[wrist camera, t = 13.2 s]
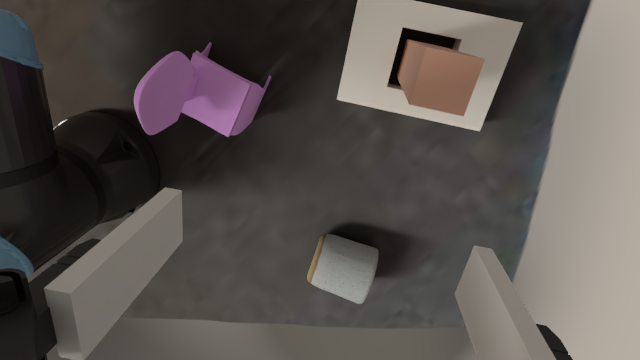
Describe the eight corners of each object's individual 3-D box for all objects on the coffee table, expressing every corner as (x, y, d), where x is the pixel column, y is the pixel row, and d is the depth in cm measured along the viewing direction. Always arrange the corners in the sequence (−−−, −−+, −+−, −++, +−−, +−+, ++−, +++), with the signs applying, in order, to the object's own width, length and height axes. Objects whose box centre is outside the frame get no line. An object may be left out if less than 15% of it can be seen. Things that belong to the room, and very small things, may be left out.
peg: (396, 76, 40) (409, 104, 26) (406, 38, 38) (426, 47, 24) (431, 83, 40) (463, 116, 25) (442, 46, 38) (484, 59, 24)
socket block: (339, 94, 42) (336, 99, 39) (360, -8, 37) (359, -11, 35) (472, 124, 41) (479, 131, 38) (512, 23, 36) (523, 22, 34)
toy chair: (252, 129, 45) (200, 174, 32) (190, 96, 45) (110, 127, 31) (279, 70, 42) (233, 92, 28) (212, 33, 41) (132, 37, 28)
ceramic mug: (323, 220, 49) (314, 254, 42) (379, 238, 49) (380, 274, 42) (305, 277, 54) (295, 315, 47) (357, 293, 54) (354, 333, 47)
